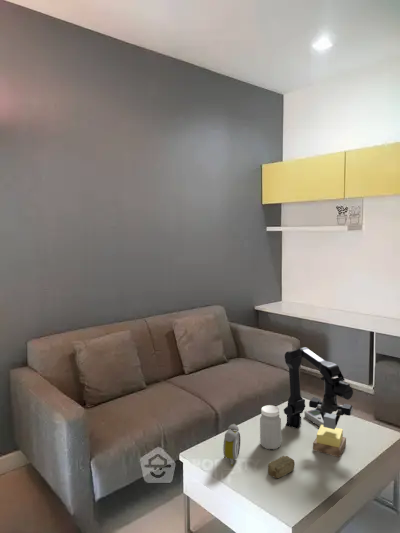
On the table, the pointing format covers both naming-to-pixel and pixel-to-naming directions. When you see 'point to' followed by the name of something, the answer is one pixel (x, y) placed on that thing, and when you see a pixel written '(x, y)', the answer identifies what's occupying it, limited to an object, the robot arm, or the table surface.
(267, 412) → the jar
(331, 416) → the gray cube
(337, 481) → the table surface
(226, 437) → the alarm clock
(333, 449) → the tower base slab
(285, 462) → the stone block
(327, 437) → the tower top slab
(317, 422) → the handheld gaming device
